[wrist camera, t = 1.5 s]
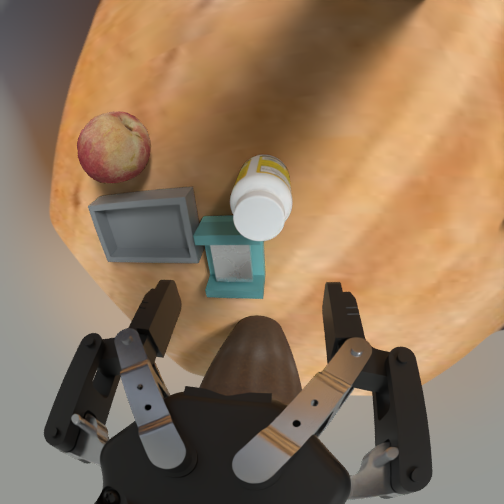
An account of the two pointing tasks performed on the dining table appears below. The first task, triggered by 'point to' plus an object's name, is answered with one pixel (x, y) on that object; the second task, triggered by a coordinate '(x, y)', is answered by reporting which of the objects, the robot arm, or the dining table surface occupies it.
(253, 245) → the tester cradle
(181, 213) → the trough
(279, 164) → the supplement bottle
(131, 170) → the fruit
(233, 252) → the plate
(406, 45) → the dining table surface
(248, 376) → the plant pot
